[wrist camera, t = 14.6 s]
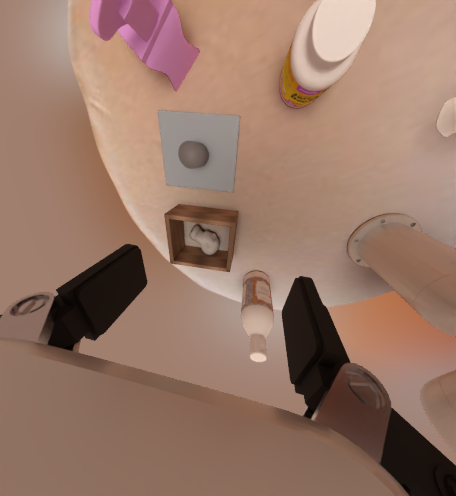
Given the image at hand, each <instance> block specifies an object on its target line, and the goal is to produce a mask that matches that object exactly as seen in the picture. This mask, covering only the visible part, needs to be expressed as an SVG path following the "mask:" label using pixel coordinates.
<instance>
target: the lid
mask: <svg viewBox="0 0 456 496" xmlns="http://www.w3.org/2000/svg"><path fill="white" fill-rule="evenodd" d="M158 118H159V126H160V135H161V143H162V152H163V160H164V168H165V177H166V185H168V186H178V187H187V188H197V189H206V190H216V191H225V192H233V191H234V179H235V168H236V157H237V145H238V134H239V123H240V116H233V115H219V114H205V113H190V112H176V111H162V110H158Z"/></svg>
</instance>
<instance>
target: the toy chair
mask: <svg viewBox="0 0 456 496" xmlns="http://www.w3.org/2000/svg"><path fill="white" fill-rule="evenodd" d="M90 25H91V28H92V30H93V31H94V33H95V34H96V35H98V36H99V37H100V38H102V39H103V40H105V41H108V40H110V39H111V38H112V37H113V35H114V34H115V32H116V31H117V32H118V33H119V34H120V35H121V36H122V38H123V39H124V40H125V41H126V43H127V44H128V45H129V46H130V47H131V49H132V50H133V51H134V52H135V53H136V55H137V56H138V57H139V58H140V59H141V61H143V62H144V63H145V64H146V65H147V66H148V67H149V68H151V69H153V70H157V71H161V72H163V73H165V74H166V75H167V76H168V77H169V79H170V81H171V83H172V86H173V88H174V90H175V91H177V90H178V88H179V86H180V85H181V83H182V81H183V80H184V78H185V76H186V74H187V73H188V71H189V69H190V68H191V66H192V64H193V63H194V61H195V59H196V58H197V56H198V54H199V53H200V50H199V49H198V48H196V47H194V46H192V45H191V44H189V43H188V42H187V41H186V39H185V37H184V35H183V31H182V27H181V23H180V18H179V15H178V12H177V10H176V8H175V6H174V5H173V3H172V1H171V0H92V2H91V8H90Z"/></svg>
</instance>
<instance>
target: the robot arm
mask: <svg viewBox="0 0 456 496" xmlns="http://www.w3.org/2000/svg"><path fill="white" fill-rule="evenodd" d="M421 232H422V231H421V227H420V225H419V223H418V222H417V221H416V220H415V219H413V218H411V217H409V216H406V215H403V214H386V215H381V216H379V217H376V218H373V219H371V220H369V221H367V222H366V223H364V224H363V225H361V226H360V227H359V228H358V229H357V230H356V231H355V232H354V233H353V234H352V236H351V238H350V239H349V242H348V247H347V250H348V254H349V256H350V258H351V259H352V260H353V261H354V262H355V263H356V264H358V265H360V266H363V267H368V268H372V269H373V270H374V271H375V272H376V273H377V274H378V275H379V276H380V277H381V278H382V279H383V280H384V281H385V282H386V283H388V284H389V285H390V286H391V287H392V288H393V289H394V290H395V291H396V292H397V293H398V294H399V295H400V296H401V297H402V298H403V299H404V300H405V301H406V302H407V303H408V304H409V305H410V306H411V307H412V308H413V309H414V310H416V311H417V312H418V313H419V314H420V315H421V316H422V317H423V318H424V319H425V320H426V321H427V322H428V323H430V324H431V325H433V326H434V327H436V328H437V329H439V330H441V331H443V332H445V333H447V334H450V335H452V336H455V337H456V249H454V248H452V247H450V246H448V245H446V244H444V243H442V242H439V241H437V240H435V239H433V238H431V237H429V236H427V235H425V234H423V233H421ZM146 285H147V278H146V273H145V268H144V264H143V259H142V254H141V250H140V249H139V247H138V246H136V245H131V244H126V245H124V246H122V247H121V248H119V249H118V250H116V251H115V252H113V253H112V254H110V255H108V256H107V257H105V258H104V259H103V260H101V261H99V262H98V263H96V264H95V265H93V266H92V267H90V268H88V269H87V270H85V271H84V272H82V273H81V274H79V275H78V276H76V277H75V278H73V279H72V280H70V281H69V282H67V283H65V284H64V285H62V286H61V287H59V288H58V289H56V291H57V292H58V295H57V296H56V297H55V296H54V295H53V293H50V292H40V293H35V294H32V295H28V296H26V297H24V298H21V299H20V300H18V301H16V302H14V303H13V304H12V305H10V306H9V307H8V308H7V309H6V311H5V312H4V314H2V315H0V496H456V465H454V464H453V463H452V462H451V461H450V460H449V459H448V458H447V457H445V456H444V455H443V454H442V453H441V452H440V451H439V450H438V449H437V448H436V447H434V446H433V445H432V444H431V443H430V442H429V441H428V440H427V439H426V438H425V437H423V436H422V435H421V434H420V433H419V432H418V431H417V430H416V429H415V428H414V427H412V426H411V425H410V424H409V423H408V422H407V421H406V420H405V419H403V417H401V416H400V415H399V414H398V413H397V412H396V411H395V410H394V409H393V408H391V401H390V398H389V395H388V393H387V391H386V390H385V388H384V386H383V385H382V384H381V382H380V381H379V380H378V379H377V378H376V377H375V376H374V375H373V374H372V373H371V372H370V371H368V370H367V369H365V368H364V367H362V366H360V365H357V364H355V363H350V360H349V358H348V356H347V354H346V351H345V349H344V346H343V344H342V342H341V340H340V337H339V335H338V333H337V330H336V328H335V326H334V323H333V321H332V319H331V316H330V314H329V312H328V310H327V308H326V306H324V305H323V304H322V301H321V299H320V297H319V294H318V292H317V289H316V287H315V285H314V282H313V280H312V278H309V277H303V276H300V277H299V278H295V280H294V283H293V285H292V288H291V290H290V293H289V295H288V297H287V300H286V302H285V305H284V307H283V310H282V319H283V328H284V336H285V342H286V351H287V358H288V367H289V374H290V381H291V383H292V384H294V385H295V392H296V393H299V394H302V395H304V399H305V403H306V405H307V406H306V408H305V410H304V412H303V414H302V415H301V416H300V415H297V414H295V413H292V412H289V411H286V410H283V409H279V408H276V407H273V406H269V405H266V404H263V403H259V402H256V401H252V400H249V399H246V398H242V397H239V396H235V395H232V394H228V393H224V392H220V391H217V390H213V389H210V388H206V387H202V386H199V385H195V384H192V383H188V382H185V381H181V380H177V379H174V378H170V377H166V376H162V375H159V374H155V373H152V372H148V371H144V370H141V369H137V368H133V367H130V366H126V365H122V364H119V363H115V362H111V361H107V360H103V359H100V358H96V357H92V356H88V355H84V354H81V353H78V351H79V346H80V340H81V339H82V338H83V336H85V338H87V339H91V340H94V341H95V340H96V339H97V338H98V337H99V336H100V335H102V334H104V333H105V332H106V330H108V328H109V327H110V326H111V325H112V324H113V323H114V322H115V320H116V319H117V318H118V317H119V316H120V315H121V314H122V313H123V312H124V310H125V309H126V308H127V307H128V306H129V305H130V304H131V302H132V301H133V300H134V299H135V298H136V297H137V296H138V294H139V293H140V292H141V291H142V290H143V289H144V288H145V287H146ZM420 400H421V403H422V406H423V409H424V411H425V413H426V415H427V417H428V418H429V420H430V422H431V423H432V425H433V426H434V428H435V429H436V431H437V432H438V434H439V435H440V436H441V438H442V439H443V440H444V441H445V443H446V444H447V445H448V447H449V448H450V449H451V450H452V452H453V453H454V454H455V455H456V370H454V371H452V372H449V373H446V374H444V375H442V376H439V377H436V378H434V379H432V380H430V381H428V382H427V383H426V384H424V385H423V387H422V388H421V391H420Z"/></svg>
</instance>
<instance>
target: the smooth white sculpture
mask: <svg viewBox="0 0 456 496" xmlns="http://www.w3.org/2000/svg"><path fill="white" fill-rule="evenodd" d="M190 238H191V239H192V240H195V241H197V242H198V243H199V244H200V246H201V249H202V250H203V252H204V253H206V254H208V255H212V254H214V253H215V252H216V251H217V250H218V248H219V240H218V238H217V236H216V234H215V233H211V232H209V231H205V232H203V231H202V230H201V229H200V228H199V226H194V228H193V229H192V231H191V233H190Z"/></svg>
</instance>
